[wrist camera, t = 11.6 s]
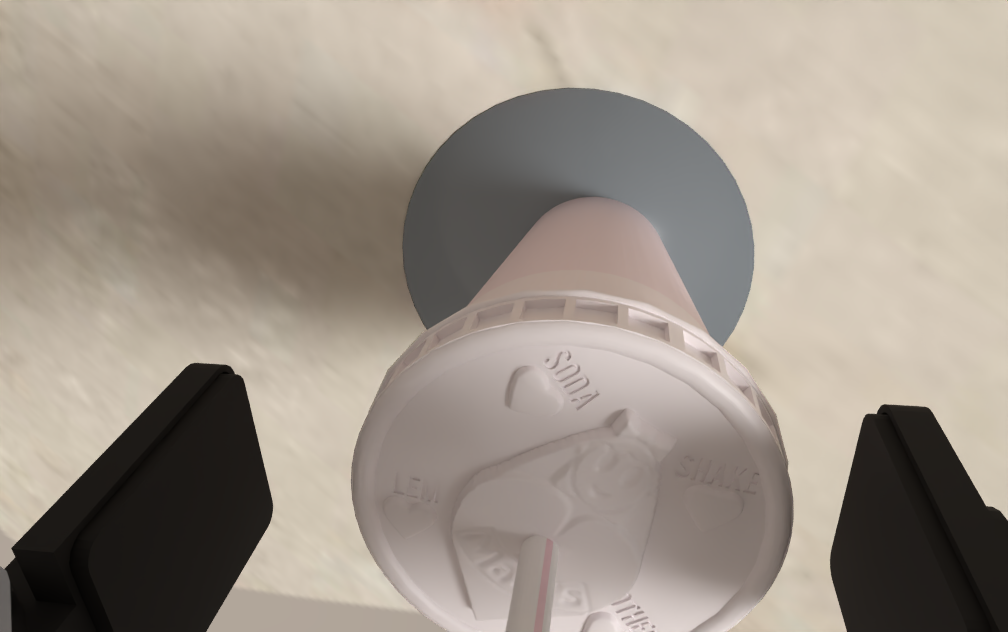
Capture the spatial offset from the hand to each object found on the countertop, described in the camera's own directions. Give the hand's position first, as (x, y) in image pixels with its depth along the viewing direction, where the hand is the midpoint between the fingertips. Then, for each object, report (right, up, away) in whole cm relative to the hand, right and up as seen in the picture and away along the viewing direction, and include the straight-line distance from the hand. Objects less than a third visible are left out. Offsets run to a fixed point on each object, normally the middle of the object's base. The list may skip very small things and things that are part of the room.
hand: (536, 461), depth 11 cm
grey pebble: (+1, +4, +9) cm, 10 cm away
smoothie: (+2, +4, +8) cm, 9 cm away
